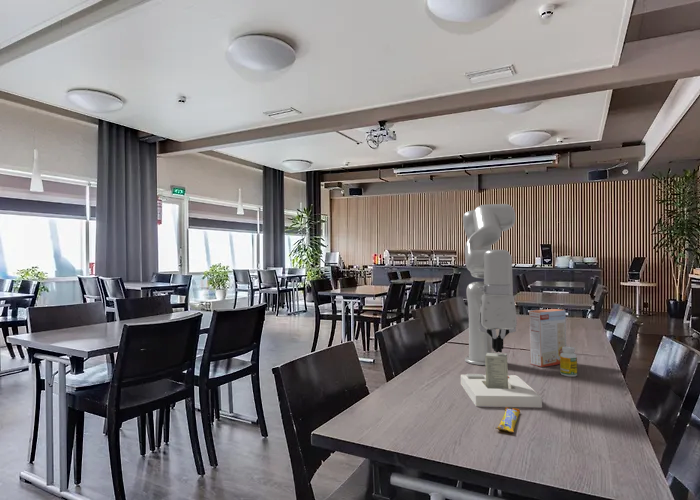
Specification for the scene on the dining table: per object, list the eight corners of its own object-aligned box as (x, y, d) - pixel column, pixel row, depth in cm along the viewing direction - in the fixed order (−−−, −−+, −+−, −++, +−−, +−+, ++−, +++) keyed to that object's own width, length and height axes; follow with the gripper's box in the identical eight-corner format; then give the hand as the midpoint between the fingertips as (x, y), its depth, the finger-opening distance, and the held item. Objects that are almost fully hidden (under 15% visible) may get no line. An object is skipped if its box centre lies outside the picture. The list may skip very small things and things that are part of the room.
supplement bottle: (565, 372, 160) (565, 345, 160) (580, 375, 156) (580, 348, 156) (557, 374, 157) (556, 347, 157) (571, 377, 153) (571, 349, 153)
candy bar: (504, 412, 121) (504, 405, 121) (521, 414, 119) (521, 407, 119) (494, 434, 106) (494, 426, 106) (513, 437, 104) (513, 429, 104)
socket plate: (460, 383, 146) (460, 372, 146) (516, 384, 145) (516, 373, 145) (475, 406, 124) (475, 393, 124) (542, 407, 123) (541, 394, 123)
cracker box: (554, 360, 178) (553, 308, 178) (567, 363, 173) (566, 309, 173) (528, 364, 172) (528, 310, 172) (541, 367, 167) (541, 311, 167)
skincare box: (508, 393, 135) (508, 353, 135) (507, 398, 131) (507, 356, 131) (486, 391, 138) (486, 352, 138) (485, 395, 134) (484, 354, 134)
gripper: (474, 291, 131) (475, 353, 131) (526, 291, 130) (527, 354, 130) (469, 289, 139) (469, 348, 138) (518, 289, 138) (518, 349, 138)
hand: (497, 351), depth 134 cm, fingers closed
